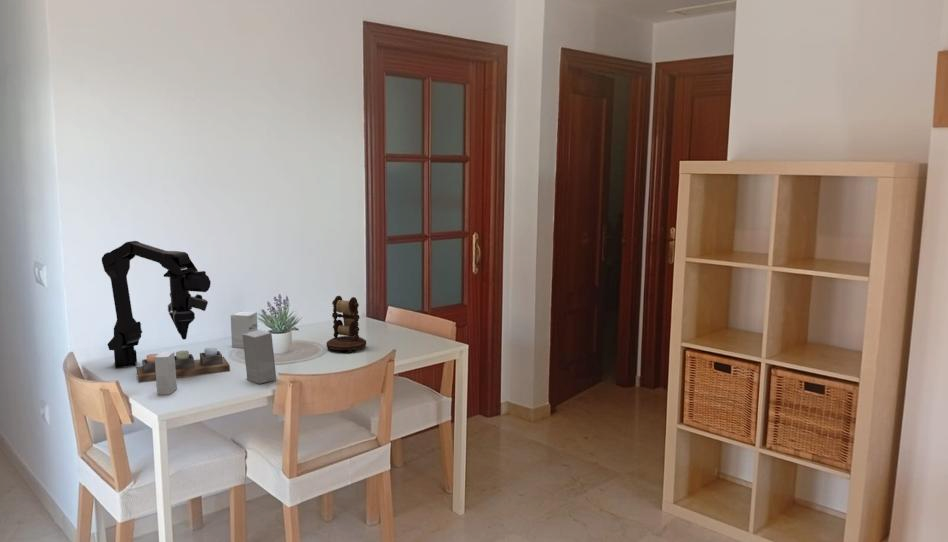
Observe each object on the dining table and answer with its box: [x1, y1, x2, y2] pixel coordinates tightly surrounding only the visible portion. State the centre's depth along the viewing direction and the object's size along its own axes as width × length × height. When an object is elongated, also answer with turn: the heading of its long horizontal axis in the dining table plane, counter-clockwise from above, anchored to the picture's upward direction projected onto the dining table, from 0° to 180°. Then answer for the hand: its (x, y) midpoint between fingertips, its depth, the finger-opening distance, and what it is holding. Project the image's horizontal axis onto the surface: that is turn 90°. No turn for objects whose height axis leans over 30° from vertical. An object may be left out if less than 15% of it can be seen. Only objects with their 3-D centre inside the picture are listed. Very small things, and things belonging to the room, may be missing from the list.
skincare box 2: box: [242, 329, 277, 385], centre depth 239 cm, size 8×7×16 cm
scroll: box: [326, 295, 367, 354], centre depth 277 cm, size 15×15×20 cm
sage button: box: [175, 350, 190, 360], centre depth 248 cm, size 4×4×3 cm
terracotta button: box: [146, 353, 159, 364], centre depth 244 cm, size 4×4×3 cm
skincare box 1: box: [154, 351, 178, 396], centre depth 227 cm, size 6×4×12 cm
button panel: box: [135, 350, 231, 383], centre depth 249 cm, size 28×12×5 cm, turn 117°
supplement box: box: [230, 310, 259, 349], centre depth 282 cm, size 7×7×13 cm
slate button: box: [203, 346, 218, 357], centre depth 252 cm, size 4×4×3 cm
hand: (182, 336), depth 248 cm, fingers open, 9 cm apart
